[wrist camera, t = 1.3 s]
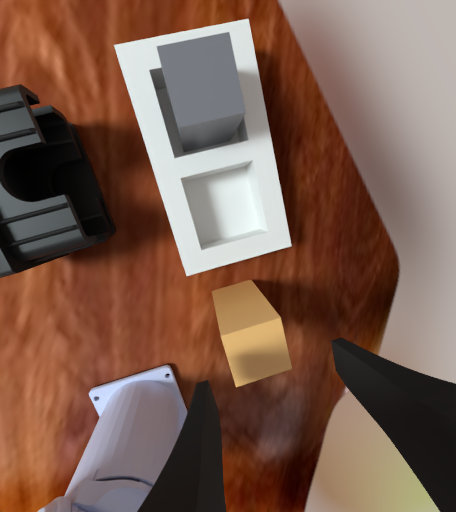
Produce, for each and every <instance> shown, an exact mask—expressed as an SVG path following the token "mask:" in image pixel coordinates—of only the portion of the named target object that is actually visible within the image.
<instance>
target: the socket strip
mask: <svg viewBox="0 0 456 512" xmlns="http://www.w3.org/2000/svg"><path fill="white" fill-rule="evenodd" d="M114 47H115V50H116V53H117V56H118V60H119V63H120V66H121V69H122V72H123V75H124V79H125V82H126V85H127V88H128V91H129V95H130V98H131V101H132V104H133V107H134V110H135V114H136V117H137V120H138V123H139V126H140V129H141V133H142V136H143V139H144V142H145V145H146V149H147V152H148V155H149V158H150V161H151V164H152V168H153V171H154V174H155V177H156V180H157V184H158V187H159V190H160V193H161V196H162V199H163V203H164V206H165V209H166V212H167V215H168V218H169V222H170V225H171V228H172V231H173V234H174V238H175V241H176V244H177V247H178V250H179V253H180V257H181V260H182V263H183V266H184V269H185V272H186V276H189V275H192V274H196V273H199V272H203V271H206V270H210V269H213V268H217V267H220V266H224V265H227V264H231V263H234V262H238V261H241V260H245V259H248V258H252V257H255V256H259V255H262V254H266V253H269V252H273V251H276V250H280V249H283V248H287V247H290V246H292V245H291V240H290V235H289V230H288V224H287V219H286V214H285V209H284V203H283V198H282V193H281V187H280V182H279V177H278V172H277V166H276V161H275V156H274V151H273V145H272V140H271V135H270V130H269V124H268V119H267V114H266V108H265V103H264V98H263V93H262V87H261V82H260V77H259V72H258V66H257V61H256V56H255V51H254V45H253V40H252V35H251V29H250V24H249V19H245V20H240V21H234V22H229V23H224V24H219V25H214V26H209V27H204V28H199V29H194V30H189V31H184V32H178V33H173V34H168V35H163V36H158V37H153V38H148V39H143V40H138V41H133V42H128V43H123V44H117V45H114Z"/></svg>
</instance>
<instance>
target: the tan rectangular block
mask: <svg viewBox="0 0 456 512" xmlns="http://www.w3.org/2000/svg"><path fill="white" fill-rule="evenodd" d="M212 295H213V300H214V304H215V309H216V314H217V319H218V324H219V329H220V334H221V338H222V342H223V345H224V348H225V352H226V355H227V358H228V362H229V365H230V369H231V372H232V375H233V379H234V382H235V385H236V387H239V386H242V385H245V384H248V383H251V382H254V381H257V380H260V379H263V378H266V377H269V376H272V375H275V374H278V373H281V372H284V371H287V370H290V369H292V367H291V362H290V357H289V353H288V348H287V344H286V339H285V335H284V330H283V325H282V321H281V317H280V316H279V315H278V313H277V312H276V311H275V310H274V308H273V307H272V306H271V304H270V303H269V302H268V301H267V299H266V298H265V297H264V295H263V294H262V293H261V292H260V290H259V289H258V288H257V286H256V285H255V284H254V283H253V281H252V280H248V281H244V282H241V283H238V284H234V285H231V286H227V287H224V288H221V289H217V290H214V291H212Z"/></svg>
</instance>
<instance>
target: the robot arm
mask: <svg viewBox="0 0 456 512" xmlns="http://www.w3.org/2000/svg"><path fill="white" fill-rule="evenodd" d="M331 343H332V349H333V355H334V361H335V367H336V371H337V373H338V374H339V376H340V377H341V379H342V380H343V382H344V383H345V385H346V386H347V388H348V389H349V390H350V391H351V393H352V394H353V395H354V396H355V397H356V399H357V400H358V401H359V402H360V403H361V404H362V406H364V408H365V409H366V410H367V412H368V413H369V414H370V415H371V416H372V417H373V419H374V420H375V421H376V422H377V423H378V424H379V425H380V427H381V428H382V429H383V431H384V432H385V433H386V434H387V436H388V437H389V438H390V439H391V441H392V442H393V444H394V445H395V447H396V448H397V449H398V451H399V452H400V454H401V455H402V456H403V458H404V459H405V461H406V462H407V463H408V465H409V466H410V468H411V469H412V471H413V472H414V473H415V475H416V476H417V478H418V479H419V481H420V482H421V484H422V485H423V487H424V488H425V489H426V491H427V492H428V494H429V496H430V497H431V498H432V500H433V501H434V503H435V504H436V506H437V507H438V509H439V510H440V512H456V384H454V383H451V382H447V381H444V380H441V379H437V378H434V377H431V376H428V375H425V374H422V373H419V372H417V371H414V370H411V369H408V368H406V367H403V366H401V365H398V364H396V363H394V362H391V361H389V360H387V359H384V358H382V357H380V356H378V355H376V354H374V353H371V352H369V351H367V350H365V349H363V348H361V347H359V346H357V345H355V344H353V343H351V342H349V341H347V340H345V339H343V338H339V339H335V340H332V341H331ZM166 374H170V375H166ZM89 396H90V398H91V400H92V402H93V404H94V406H95V408H96V410H97V412H98V414H99V416H100V418H99V421H98V423H97V425H96V427H95V429H94V432H93V434H92V436H91V438H90V441H89V443H88V445H87V447H86V449H85V452H84V454H83V456H82V458H81V460H80V463H79V465H78V467H77V469H76V471H75V474H74V476H73V478H72V480H71V483H70V485H69V487H68V489H67V491H66V494H65V496H64V497H63V496H60V497H57V498H56V499H54V500H53V501H52V502H51V503H49V504H48V505H46V506H45V507H43V508H41V509H40V510H39V511H38V512H226V505H225V497H224V485H223V465H222V443H221V428H220V420H219V414H218V408H217V405H216V402H215V399H214V396H213V393H212V390H211V387H210V384H209V381H208V380H206V381H203V382H200V383H197V385H196V387H195V391H194V394H193V398H192V401H191V404H190V407H189V410H188V411H187V409H186V406H185V403H184V401H183V398H182V395H181V393H180V390H179V387H178V384H177V382H176V379H175V376H174V374H173V371H172V368H171V367H170V366H169V365H164V366H161V367H158V368H154V369H151V370H148V371H145V372H142V373H139V374H135V375H132V376H129V377H126V378H123V379H120V380H117V381H113V382H110V383H107V384H104V385H101V386H98V387H94V388H92V389H91V391H90V393H89ZM96 396H97V397H99V398H97V397H96Z"/></svg>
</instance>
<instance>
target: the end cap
mask: <svg viewBox="0 0 456 512" xmlns="http://www.w3.org/2000/svg"><path fill="white" fill-rule="evenodd" d="M39 103H40V101H39V99H38V97H37V95H35V94H34V93H33V92H31V91H30V90H28V89H27V88H26V87H24V86H23V85H15V86H11V87H7V88H2V89H0V278H1V277H5V276H9V275H12V274H16V273H19V272H22V271H24V270H27V269H30V268H33V267H35V266H38V265H41V264H44V263H46V262H49V261H52V260H54V259H57V258H60V257H63V256H65V255H68V254H69V253H70V252H74V251H77V250H81V249H84V248H88V247H91V246H93V245H94V244H98V243H101V242H105V241H106V240H107V238H108V237H110V236H112V235H113V234H115V232H116V227H115V225H114V222H113V220H112V217H111V214H110V212H109V209H108V207H107V204H106V202H105V199H104V197H103V194H102V192H101V189H100V187H99V184H98V182H97V179H96V176H95V174H94V171H93V169H92V166H91V164H90V161H89V159H88V156H87V154H86V151H85V149H84V146H83V144H82V141H81V138H80V136H79V133H78V131H77V129H76V127H75V126H74V125H72V124H71V123H69V122H68V121H67V120H66V118H65V117H64V115H63V114H62V113H61V112H59V111H58V110H57V109H55V108H54V107H52V106H51V105H49V106H45V107H40V108H36V109H32V110H31V107H30V105H34V104H39Z"/></svg>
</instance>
